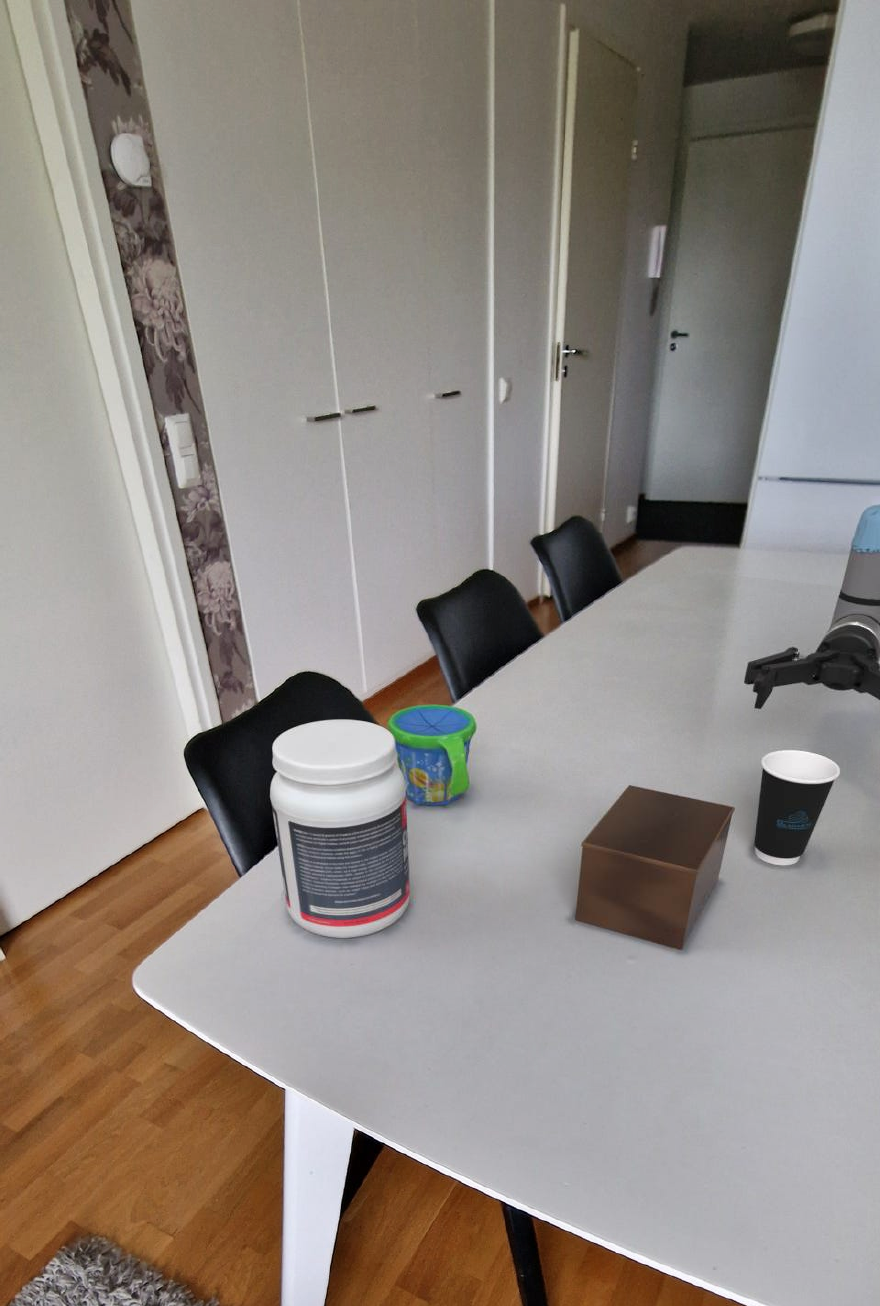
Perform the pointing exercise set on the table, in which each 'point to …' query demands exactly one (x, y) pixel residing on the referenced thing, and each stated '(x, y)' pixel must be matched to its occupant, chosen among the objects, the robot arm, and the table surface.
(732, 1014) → the table surface
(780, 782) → the dixie cup
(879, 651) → the robot arm
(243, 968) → the table surface
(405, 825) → the supplement tub
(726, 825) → the brown box
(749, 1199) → the table surface
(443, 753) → the snack cup
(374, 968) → the table surface
